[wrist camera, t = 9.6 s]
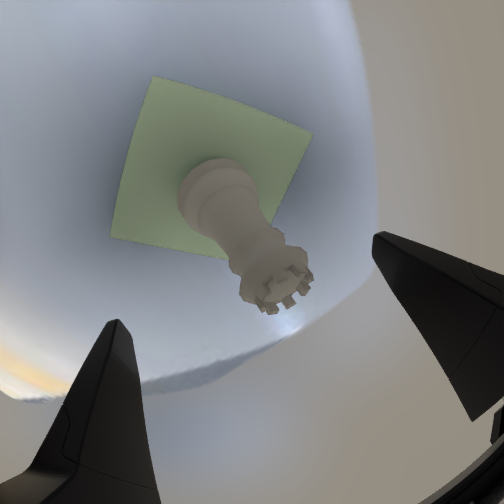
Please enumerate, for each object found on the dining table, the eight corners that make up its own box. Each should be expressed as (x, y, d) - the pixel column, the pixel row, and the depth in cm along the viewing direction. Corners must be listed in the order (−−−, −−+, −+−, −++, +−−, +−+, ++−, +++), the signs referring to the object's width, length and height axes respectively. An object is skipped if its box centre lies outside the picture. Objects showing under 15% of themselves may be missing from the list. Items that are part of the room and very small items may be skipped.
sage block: (243, 248, 22) (250, 264, 21) (113, 221, 18) (109, 236, 16) (299, 127, 18) (313, 134, 16) (154, 76, 13) (153, 75, 12)
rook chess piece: (260, 171, 17) (348, 261, 12) (220, 228, 18) (285, 328, 14) (201, 141, 14) (288, 239, 9) (160, 210, 15) (214, 329, 10)
